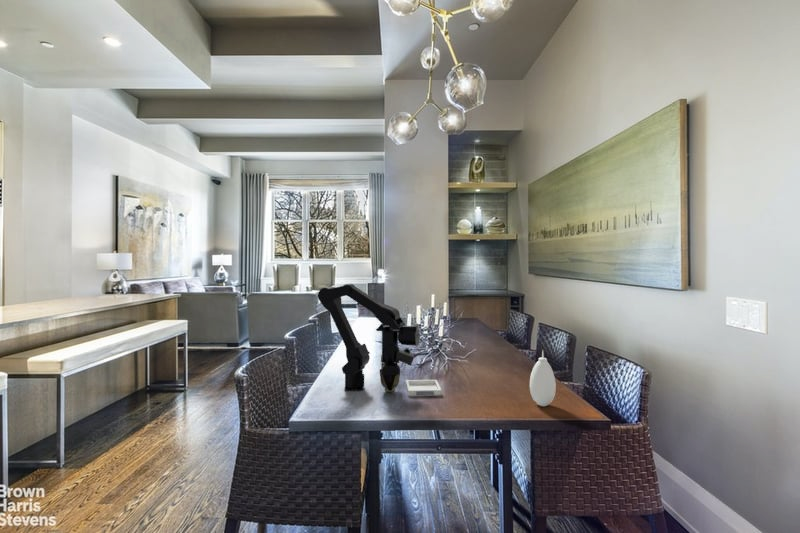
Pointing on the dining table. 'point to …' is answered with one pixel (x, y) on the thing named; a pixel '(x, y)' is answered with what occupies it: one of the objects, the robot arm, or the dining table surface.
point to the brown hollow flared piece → (395, 384)
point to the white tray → (423, 388)
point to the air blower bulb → (542, 382)
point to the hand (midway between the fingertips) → (389, 387)
